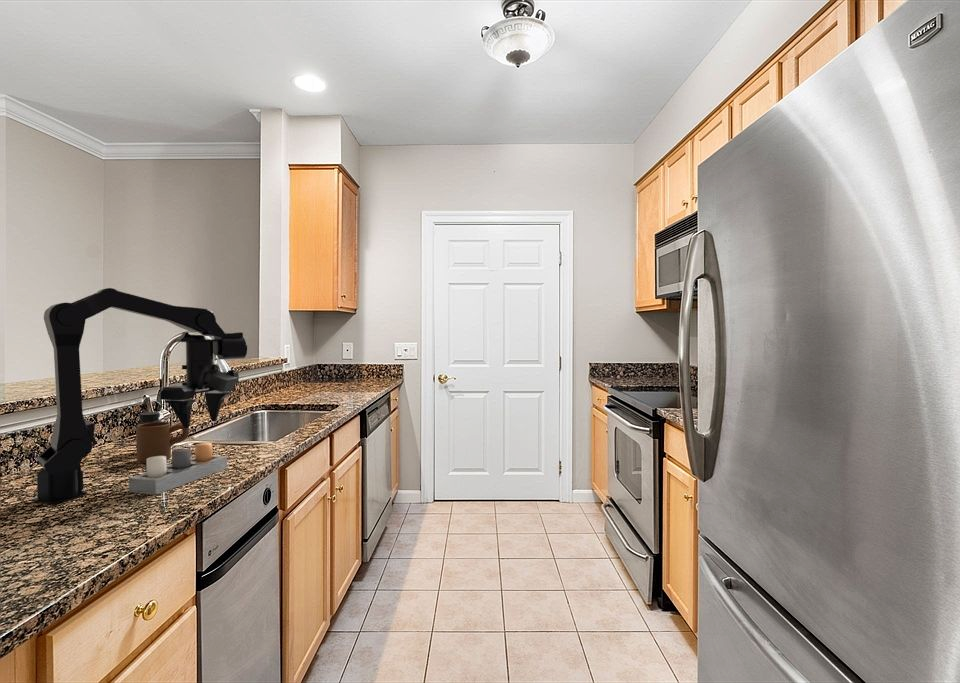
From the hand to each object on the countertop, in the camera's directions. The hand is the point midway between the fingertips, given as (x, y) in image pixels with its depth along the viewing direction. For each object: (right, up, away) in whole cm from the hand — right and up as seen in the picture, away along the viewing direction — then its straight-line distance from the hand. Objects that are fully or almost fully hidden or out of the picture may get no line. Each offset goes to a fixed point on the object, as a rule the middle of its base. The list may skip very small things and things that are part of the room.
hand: (200, 424), depth 120 cm
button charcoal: (0, -9, -7) cm, 12 cm away
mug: (-16, -11, +11) cm, 22 cm away
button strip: (0, -11, -7) cm, 13 cm away
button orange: (+1, -9, -1) cm, 9 cm away
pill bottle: (-24, -11, +18) cm, 32 cm away
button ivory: (-2, -9, -13) cm, 16 cm away
